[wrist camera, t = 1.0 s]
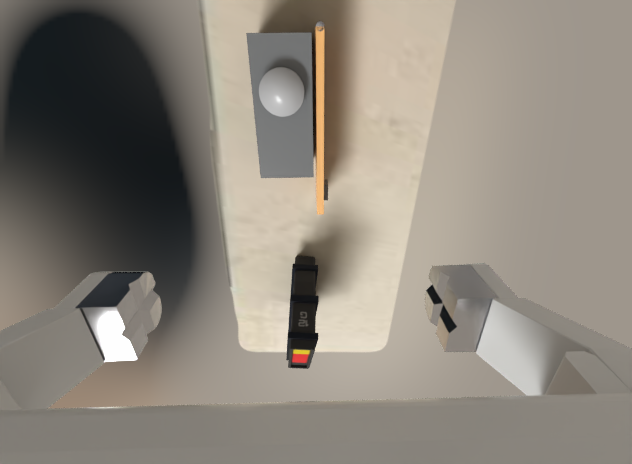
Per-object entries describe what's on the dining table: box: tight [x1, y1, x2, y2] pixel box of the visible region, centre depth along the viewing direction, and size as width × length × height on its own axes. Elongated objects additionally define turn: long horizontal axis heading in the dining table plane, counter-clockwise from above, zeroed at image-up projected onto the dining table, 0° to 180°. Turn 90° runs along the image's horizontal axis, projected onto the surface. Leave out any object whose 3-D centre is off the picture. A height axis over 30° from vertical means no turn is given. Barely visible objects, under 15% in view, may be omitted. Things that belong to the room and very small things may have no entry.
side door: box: [315, 21, 328, 214], centre depth 37 cm, size 20×1×6 cm, turn 0°
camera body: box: [246, 33, 313, 178], centre depth 35 cm, size 14×6×8 cm, turn 0°
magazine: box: [287, 256, 318, 369], centre depth 48 cm, size 4×13×15 cm, turn 175°
